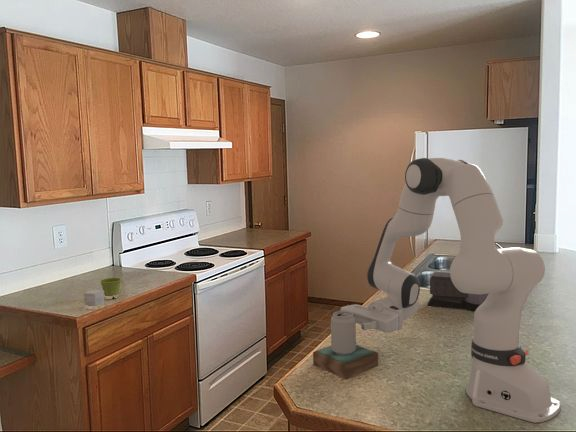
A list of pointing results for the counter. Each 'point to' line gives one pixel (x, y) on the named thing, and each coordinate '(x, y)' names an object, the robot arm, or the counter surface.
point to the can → (343, 333)
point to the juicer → (452, 294)
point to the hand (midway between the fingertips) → (351, 323)
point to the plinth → (345, 361)
